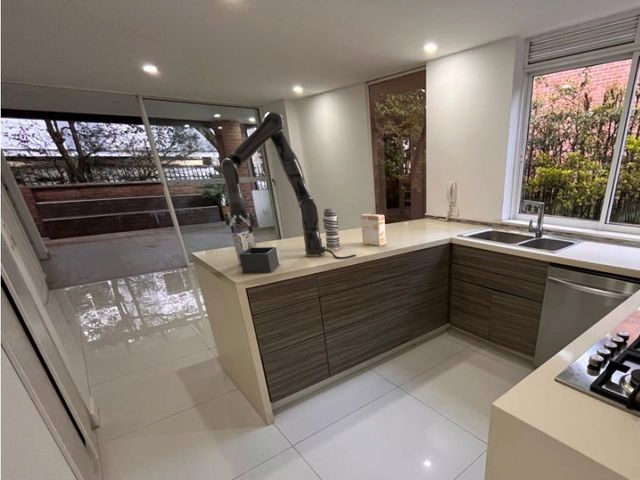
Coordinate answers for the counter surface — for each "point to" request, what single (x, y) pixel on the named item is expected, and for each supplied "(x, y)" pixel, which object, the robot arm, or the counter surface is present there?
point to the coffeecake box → (373, 229)
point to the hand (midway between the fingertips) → (242, 233)
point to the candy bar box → (243, 242)
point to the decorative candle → (331, 229)
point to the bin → (259, 259)
